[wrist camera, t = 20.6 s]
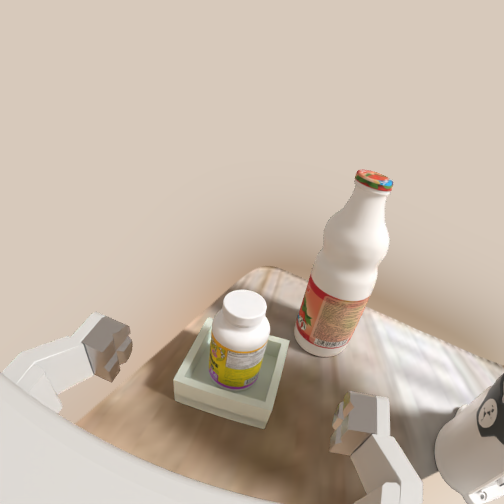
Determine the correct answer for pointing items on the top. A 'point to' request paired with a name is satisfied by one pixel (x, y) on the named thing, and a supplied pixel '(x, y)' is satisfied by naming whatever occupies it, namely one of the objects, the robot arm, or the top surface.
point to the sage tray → (222, 401)
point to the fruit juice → (345, 268)
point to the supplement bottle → (238, 340)
